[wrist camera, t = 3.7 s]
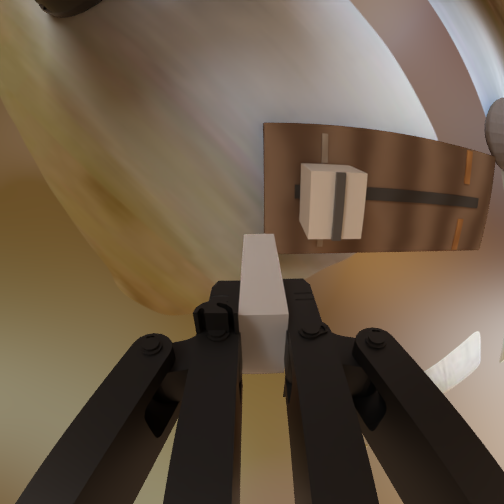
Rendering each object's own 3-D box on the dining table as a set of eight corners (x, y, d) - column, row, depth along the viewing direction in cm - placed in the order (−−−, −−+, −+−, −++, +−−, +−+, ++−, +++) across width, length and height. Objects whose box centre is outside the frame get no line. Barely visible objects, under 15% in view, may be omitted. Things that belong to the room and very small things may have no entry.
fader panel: (264, 243, 34) (265, 254, 31) (263, 123, 28) (264, 122, 25) (467, 241, 33) (479, 250, 30) (482, 153, 27) (496, 157, 24)
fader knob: (299, 220, 29) (308, 241, 24) (300, 163, 26) (312, 171, 21) (344, 220, 29) (362, 240, 24) (348, 165, 26) (369, 174, 21)
